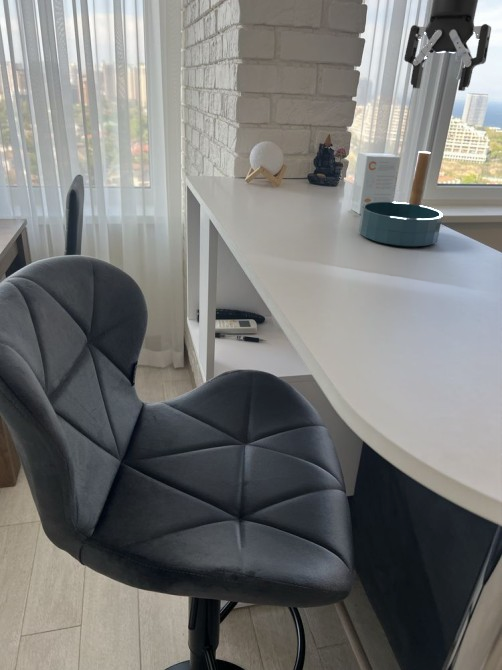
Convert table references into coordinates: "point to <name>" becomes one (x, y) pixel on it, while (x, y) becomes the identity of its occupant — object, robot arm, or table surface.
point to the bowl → (400, 224)
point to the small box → (374, 179)
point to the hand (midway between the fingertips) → (438, 89)
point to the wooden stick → (419, 177)
